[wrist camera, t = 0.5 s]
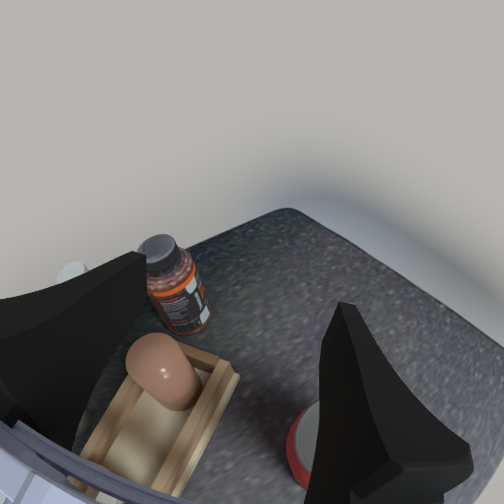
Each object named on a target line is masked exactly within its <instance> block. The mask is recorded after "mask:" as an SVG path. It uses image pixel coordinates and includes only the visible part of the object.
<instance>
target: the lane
mask: <svg viewBox="0 0 504 504" xmlns="http://www.w3.org/2000/svg"><path fill="white" fill-rule="evenodd" d="M176 343H177V344H178V346H179V347H180V349H181V350H182V352H183V353H184V355H185V356H186V358H187V359H188V361H189V362H190V363H191V365H192V366H193V368H194V369H195V371H196V372H197V373H198V375H199V376H200V378H201V380H202V383H203V392H202V394H201V396H200V397H199V399H198V401H197V403H196V404H195V405H194V406H193V407H191V408H190V409H187V410H185V411H171V410H169V409H167V408H165V407H164V406H162V405H161V404H160V403H159V402H158V401H157V400H156V399H154V398H153V397H152V396H151V395H150V394H149V393H148V392H146V391H145V390H144V389H143V388H142V387H141V386H140V385H139V384H138V383H137V382H136V381H134V380H133V379H132V378H131V376H130V375H129V374H128V375H127V377H126V379H125V380H124V382H123V383H122V385H121V387H120V388H119V390H118V392H117V393H116V395H115V396H114V398H113V400H112V401H111V403H110V405H109V406H108V408H107V410H106V411H105V413H104V415H103V416H102V418H101V420H100V421H99V423H98V425H97V426H96V428H95V430H94V431H93V433H92V435H91V436H90V438H89V440H88V442H87V443H86V445H85V447H84V448H83V450H82V452H81V454H80V455H79V457H81V458H84V459H86V460H89V461H91V462H94V463H97V464H99V465H102V466H104V467H105V468H106V469H108V470H109V471H111V472H112V473H114V474H116V475H119V476H121V477H123V478H126V479H128V480H131V481H133V482H136V483H138V484H141V485H143V486H146V487H149V488H151V489H154V490H157V491H160V492H163V493H165V494H168V495H171V496H175V497H178V498H179V497H180V495H181V493H182V492H183V490H184V488H185V486H186V484H187V482H188V480H189V478H190V477H191V475H192V473H193V471H194V469H195V467H196V465H197V463H198V461H199V459H200V457H201V456H202V454H203V452H204V450H205V448H206V446H207V444H208V442H209V440H210V438H211V436H212V434H213V432H214V430H215V428H216V426H217V424H218V422H219V420H220V418H221V416H222V414H223V412H224V410H225V408H226V406H227V404H228V402H229V400H230V398H231V396H232V394H233V392H234V390H235V387H236V385H237V383H238V381H239V379H240V375H239V374H237V373H234V371H233V369H232V366H231V364H230V362H228V361H225V360H222V359H220V358H219V356H216V355H214V354H211V353H208V352H205V351H202V350H199V349H197V348H194V347H191V346H188V345H186V344H183V343H180V342H178V341H176ZM67 479H68V480H69V481H70V482H71V483H72V484H73V485H74V486H75V487H77V488H78V489H79V490H81V491H82V492H84V493H85V494H86V496H88V497H90V498H92V499H94V500H95V499H96V498H97V496H98V494H99V492H100V491H98V490H96V489H94V488H92V487H90V486H88V485H86V484H84V483H82V482H80V481H79V480H77V479H75V478H73V477H71V476H69V475H68V477H67ZM123 504H127V503H125V502H123Z"/></svg>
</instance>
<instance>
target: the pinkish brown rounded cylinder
mask: <svg viewBox="0 0 504 504" xmlns="http://www.w3.org/2000/svg"><path fill="white" fill-rule="evenodd" d="M126 369H127V372H128V374H129V375H130V376H131V378H132V379H133V380H134V381H136V382H137V383H138V384H139V385H140V386H141V387H142V388H143V389H144V390H145V391H146V392H148V393H149V394H150V395H151V396H152V397H153V398H154V399H156V400H157V401H158V402H159V403H160V404H161V405H162V406H164V407H165V408H167V409H169V410H171V411H185V410H187V409H190V408H191V407H193V406H194V405H195V404H196V403H197V401H198V399H199V397H200V396H201V394H202V392H203V383H202V380H201V378H200V376H199V375H198V373H197V372H196V371H195V369H194V368H193V366H192V365H191V363H190V362H189V361H188V359H187V358H186V356H185V355H184V353H183V352H182V350H181V349H180V347H179V346H178V344H177V343H176V341H175V340H174V339H173V338H172V337H170V336H169V335H167V334H164V333H150V334H147V335H145V336H143V337H141V338H139V339H138V340H137V341H136V342H134V344H133V345H132V346H131V347H130V349H129V351H128V353H127V356H126Z"/></svg>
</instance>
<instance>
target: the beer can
mask: <svg viewBox="0 0 504 504" xmlns="http://www.w3.org/2000/svg"><path fill="white" fill-rule="evenodd" d="M318 427H319V399H318V400H316V401H315V402H314V403H313V404H311V405H310V406H308V407H307V408H306V409H304V410H303V411H302V412H301V413H300V414H299V416H298V417H297V418H296V420H295V421H294V422H293V424H292V425H291V428H290V431H289V434H288V436H287V439H286V455H287V458H288V461H289V465H290V468H291V470H292V473H293V476H294V479H295V480H296V481H297V482H298V484H299V485H300V486H301V487H302V488H304V489H306V490H307V489H308V484H309V480H310V475H311V470H312V465H313V460H314V454H315V448H316V441H317V434H318Z"/></svg>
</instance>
